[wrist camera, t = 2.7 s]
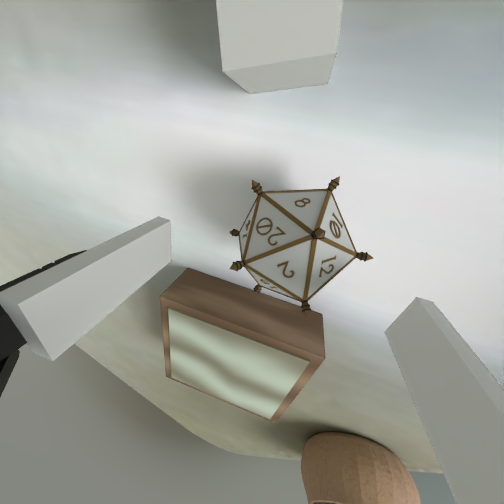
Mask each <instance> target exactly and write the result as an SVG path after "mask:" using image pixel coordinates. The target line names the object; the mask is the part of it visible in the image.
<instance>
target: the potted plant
mask: <svg viewBox="0 0 504 504" xmlns="http://www.w3.org/2000/svg"><path fill="white" fill-rule="evenodd" d="M301 472H302V478H303V482H304V487H305V490H306V494H307V499H308V503H309V504H421V502H420V496H419V493H418V490H417V487H416V485H415V483H414V481H413V479H412V477H411V476H410V474H409V473H408V471H407V469H406V468H405V466H404V465H403V463H402V462H401V461H400V459H399V458H398V457H396V456H395V455H394V454H393V453H392V452H390V451H389V450H388V449H386V448H385V447H383V446H381V445H380V444H378V443H376V442H374V441H371V440H369V439H366V438H363V437H360V436H356V435H353V434H347V433H341V432H323V433H319V434H316V435H314V436H312V437H311V438H310V439H309V440H308V441H307V442H306V444H305V446H304V449H303V453H302V459H301Z"/></svg>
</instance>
